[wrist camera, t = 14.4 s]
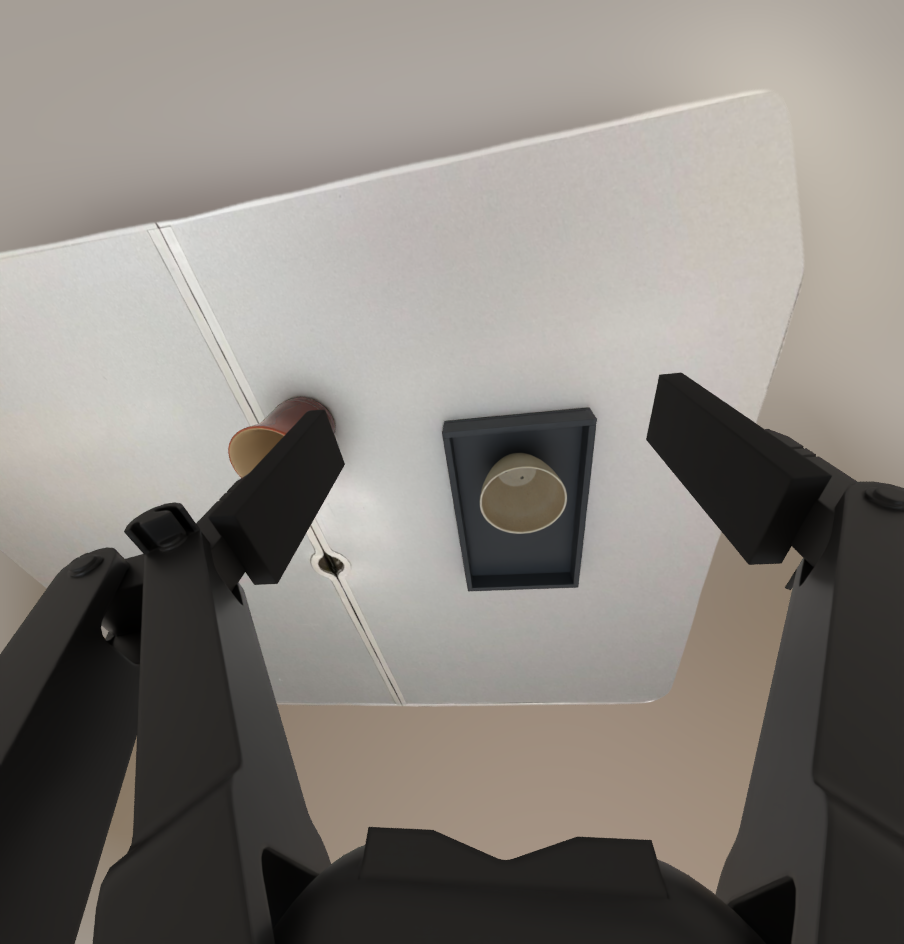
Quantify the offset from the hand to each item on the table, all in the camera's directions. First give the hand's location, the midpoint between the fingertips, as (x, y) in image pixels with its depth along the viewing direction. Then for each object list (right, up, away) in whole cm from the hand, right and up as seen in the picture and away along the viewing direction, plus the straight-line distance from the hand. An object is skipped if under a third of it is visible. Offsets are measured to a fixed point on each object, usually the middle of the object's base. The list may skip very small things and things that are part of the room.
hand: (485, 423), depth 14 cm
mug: (-19, +3, +32) cm, 37 cm away
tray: (+8, -7, +37) cm, 38 cm away
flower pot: (+7, -1, +32) cm, 33 cm away
